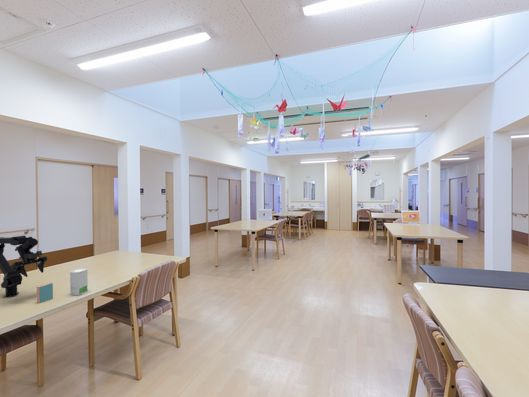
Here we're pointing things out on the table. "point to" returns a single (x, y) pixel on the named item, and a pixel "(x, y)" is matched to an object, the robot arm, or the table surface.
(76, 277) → the skincare box
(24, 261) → the robot arm
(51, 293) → the pink flat block
